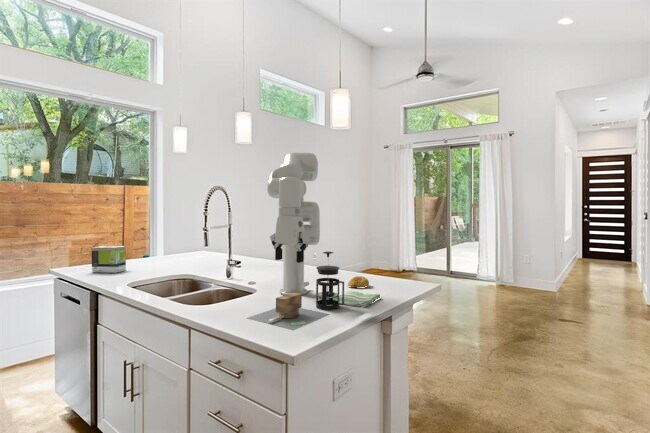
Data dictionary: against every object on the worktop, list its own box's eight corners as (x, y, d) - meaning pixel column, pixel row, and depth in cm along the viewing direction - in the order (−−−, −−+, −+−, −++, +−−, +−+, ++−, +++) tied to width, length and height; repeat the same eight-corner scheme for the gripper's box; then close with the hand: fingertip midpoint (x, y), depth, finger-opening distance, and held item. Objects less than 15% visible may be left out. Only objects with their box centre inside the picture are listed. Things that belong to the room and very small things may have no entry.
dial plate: (285, 308, 148) (285, 304, 148) (329, 318, 137) (329, 313, 137) (246, 322, 131) (246, 317, 131) (293, 334, 119) (293, 329, 119)
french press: (310, 312, 143) (310, 252, 142) (318, 306, 152) (318, 249, 151) (340, 315, 140) (340, 254, 139) (346, 309, 149) (347, 251, 148)
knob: (290, 310, 140) (290, 291, 140) (305, 313, 136) (305, 294, 136) (262, 320, 128) (262, 300, 127) (277, 324, 124) (277, 303, 123)
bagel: (343, 285, 190) (343, 276, 190) (362, 284, 195) (362, 274, 195) (353, 290, 181) (353, 280, 181) (372, 288, 186) (372, 278, 186)
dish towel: (321, 306, 154) (321, 298, 154) (347, 294, 174) (347, 287, 173) (359, 313, 145) (359, 304, 145) (382, 300, 165) (382, 292, 165)
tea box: (126, 270, 226) (126, 245, 225) (115, 273, 216) (115, 247, 215) (103, 269, 227) (102, 245, 227) (91, 272, 217) (90, 247, 217)
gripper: (315, 212, 130) (315, 262, 131) (278, 211, 140) (277, 257, 141) (302, 213, 124) (302, 264, 125) (264, 212, 134) (263, 260, 135)
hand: (289, 260), depth 133 cm, fingers open, 9 cm apart
